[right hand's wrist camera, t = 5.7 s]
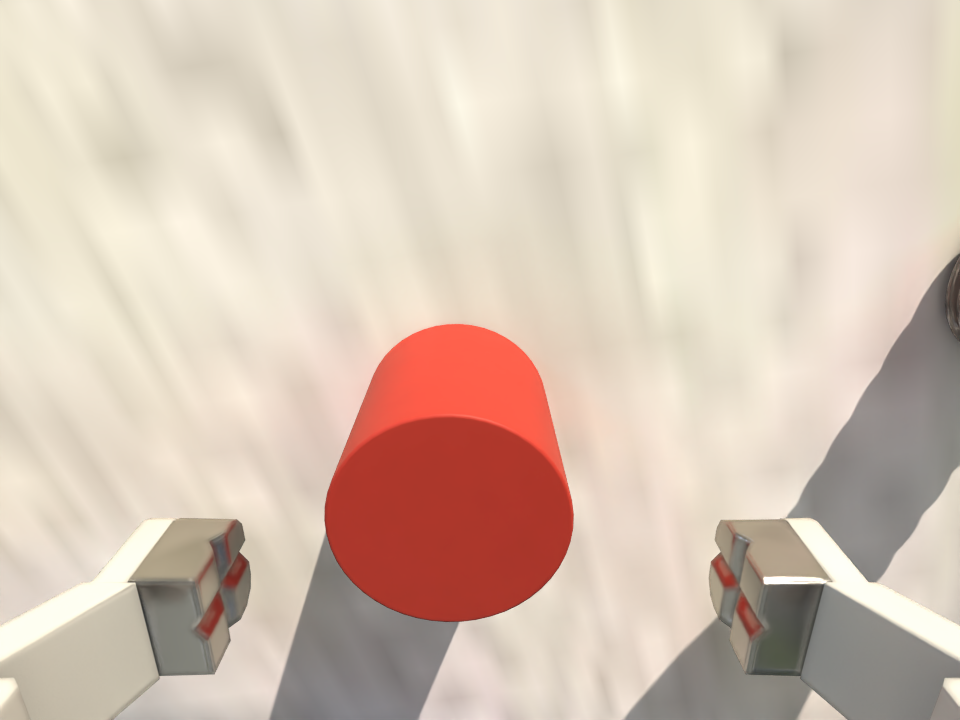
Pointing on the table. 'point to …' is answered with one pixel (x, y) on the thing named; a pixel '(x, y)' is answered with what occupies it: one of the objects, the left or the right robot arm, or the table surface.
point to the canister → (451, 480)
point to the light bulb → (954, 300)
